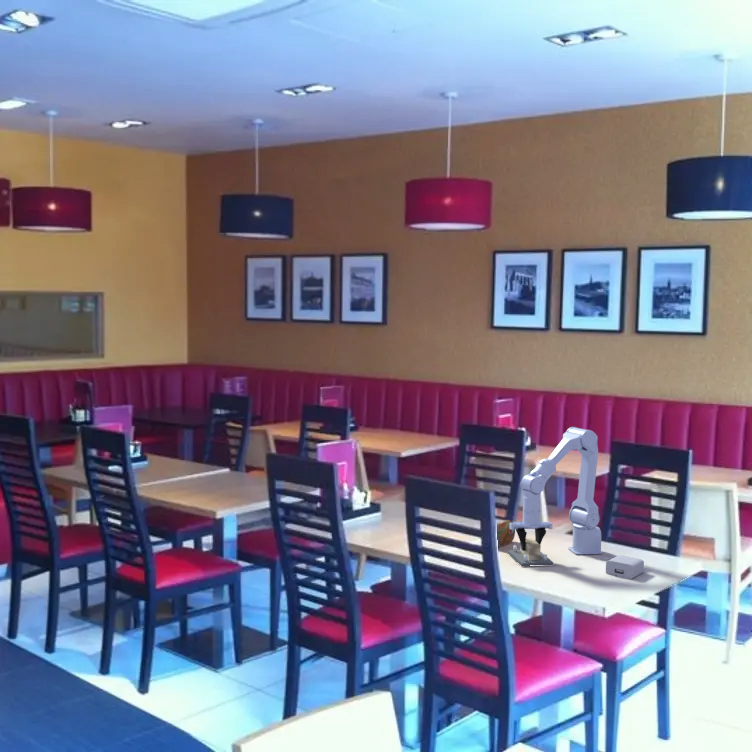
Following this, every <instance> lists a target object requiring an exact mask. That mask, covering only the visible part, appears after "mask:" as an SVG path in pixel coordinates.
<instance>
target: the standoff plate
mask: <svg viewBox="0 0 752 752" xmlns="http://www.w3.org/2000/svg"><path fill="white" fill-rule="evenodd" d="M520 552H521V549H518V545H513V549H507V552H506V553H507V554H509V555H510V556H509V555H508V556H509V557H511V558H512V559H513V560H514V561H515V560H516V561H517V562H518V563H519V564H520V565H521V566H530V565H553V566H554V561H552V560H551V559H550V558H549V557H548V554H545V553H543V552H542V551H540V560H528V555H524V556H523V555H522V554H521V553H520ZM516 561H515V562H516ZM517 562H516V563H517ZM518 563H517V564H518ZM519 564H518V565H519ZM520 565H519V566H520ZM521 566H520V567H521Z"/></svg>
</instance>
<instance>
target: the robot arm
mask: <svg viewBox="0 0 752 752" xmlns="http://www.w3.org/2000/svg"><path fill="white" fill-rule="evenodd" d="M598 439H599V437H598V435H597V434H596V433H595V432H594V431H593V430H590V429H585V428H579V427H576V426H571V427H569V428H567V430H566V431H565V432H564V433H563V434H562V439H561V441H560V442H559V443H558V445H557V446H556V447H555V448H554V450H553V451H552V453H551V454H550V455H549V456H548V458H543V459H540V460H539V462H538V464H537V465H536V467H534V469H533V470H531V471H530V473H529V474H526V475H524V476H523V477H522V479H521V482H519V487H520V489H521V490H522V495H523V498H522V499H523V500H522V521H517V522H513V523H510V527H509V528H510V529H511V530H514V529H515V533H516V534H517V536H518V539H519V542H520V543H519V544H520V550H521V549H522V550H523V551H525V548H526V547H525V541H526V538H527V534H528V533H527V531H526V530H534V534H535V538H534V540H535V541H536V542H537V543H538V544H540V545H542V541H543V539H544V538H545V536H546V534H547V530H546V529H549V530H552V529H553V522H552V521H540V520H541V519H540V518H541V495H542V494H541V493H542V492H543V491H544V490H545V487H546V484H547V481H548V480H549V479H550V477H551V476H552V475H553V474H554V473H555V472H556V470H557V465H558V464H559V463H560V462H561V460H563V459H564V458H565V457H566V455H568V454H569V453H570V452H571V451H575V450H577V451H578V452H579V453H580V455H581V458H580V467H579V468H580V469H579V479H578V489H577V491H578V492H577V498H576V499H575V500H573V502H572V503H571V508H570V509H569V513H568V518H569V521H570V522H571V525H572V547H568V550H569V551H571V552H572V553H573V554H575V555H602V553H603V552H602V531H601V529H600V527H599V526H598V525H599V522H600V514H599V506H598V505H597V504H596V502H595V501H594V497H595V487H596V486H595V485H596V478H597V467H598V458H599V448H598V447H599V446H598Z"/></svg>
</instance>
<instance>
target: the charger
mask: <svg viewBox="0 0 752 752" xmlns="http://www.w3.org/2000/svg"><path fill="white" fill-rule="evenodd" d="M644 565H645V561H644V560H643V559H641V558H637V557H631V556H627V555H621V554H619V555H617V556H614V557H613V558H611V559H609V560H607V561H606V562H605V573H606V574H607V573H608V574H607V575H610V574H612V575H611V576H615V575H617V576H616V577H619V576H620V577H619V578H624V579H630V580H632V579H634V578H635V577H637V576H639V575H641V574H643V573H644V572H645V571H644V570H645V569H644V568H645V566H644Z"/></svg>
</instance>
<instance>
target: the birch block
mask: <svg viewBox="0 0 752 752" xmlns="http://www.w3.org/2000/svg"><path fill="white" fill-rule="evenodd" d="M541 546H542V544H538V543H537V542H536V541H535V538H527V537H526V541H525V547H526V548H525V551H523V550H522V549H521V548H520V550H521V552H520V553H521V554H522V555H523V556H524V555H528V560H540V552H542V551H541V550H542V549H541Z"/></svg>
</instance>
